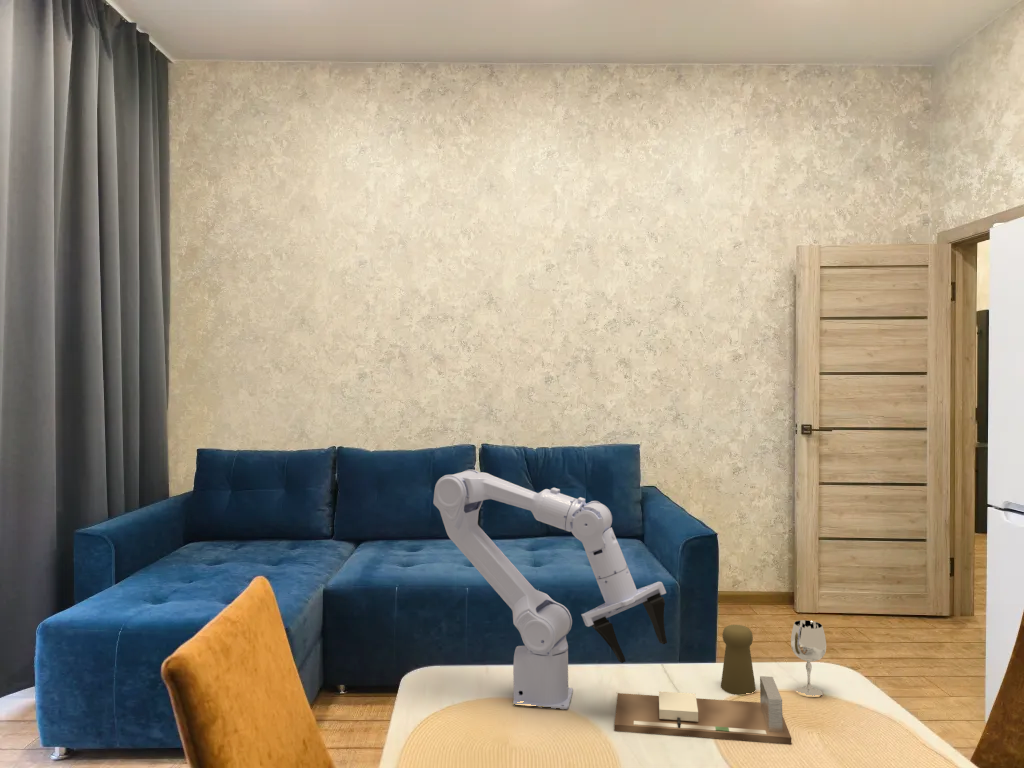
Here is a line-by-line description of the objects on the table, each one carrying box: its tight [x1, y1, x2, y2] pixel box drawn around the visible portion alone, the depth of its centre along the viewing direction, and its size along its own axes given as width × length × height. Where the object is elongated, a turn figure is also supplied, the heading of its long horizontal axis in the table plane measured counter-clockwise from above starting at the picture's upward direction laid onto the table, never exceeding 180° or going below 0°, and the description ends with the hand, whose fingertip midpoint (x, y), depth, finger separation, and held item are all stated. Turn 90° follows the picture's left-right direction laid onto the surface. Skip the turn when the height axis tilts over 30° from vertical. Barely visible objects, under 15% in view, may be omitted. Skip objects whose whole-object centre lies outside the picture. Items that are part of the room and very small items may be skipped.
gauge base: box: [613, 692, 792, 745], centre depth 119 cm, size 26×12×1 cm, turn 79°
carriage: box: [658, 690, 698, 725], centre depth 119 cm, size 6×9×2 cm, turn 169°
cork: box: [720, 624, 757, 695], centre depth 132 cm, size 6×6×11 cm
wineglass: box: [790, 619, 827, 696], centre depth 129 cm, size 6×6×12 cm
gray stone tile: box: [759, 675, 783, 732], centre depth 117 cm, size 2×9×5 cm, turn 169°
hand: (643, 652), depth 121 cm, fingers open, 7 cm apart
